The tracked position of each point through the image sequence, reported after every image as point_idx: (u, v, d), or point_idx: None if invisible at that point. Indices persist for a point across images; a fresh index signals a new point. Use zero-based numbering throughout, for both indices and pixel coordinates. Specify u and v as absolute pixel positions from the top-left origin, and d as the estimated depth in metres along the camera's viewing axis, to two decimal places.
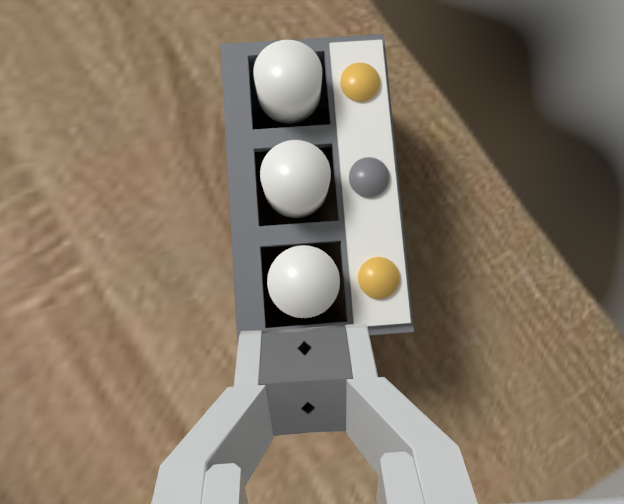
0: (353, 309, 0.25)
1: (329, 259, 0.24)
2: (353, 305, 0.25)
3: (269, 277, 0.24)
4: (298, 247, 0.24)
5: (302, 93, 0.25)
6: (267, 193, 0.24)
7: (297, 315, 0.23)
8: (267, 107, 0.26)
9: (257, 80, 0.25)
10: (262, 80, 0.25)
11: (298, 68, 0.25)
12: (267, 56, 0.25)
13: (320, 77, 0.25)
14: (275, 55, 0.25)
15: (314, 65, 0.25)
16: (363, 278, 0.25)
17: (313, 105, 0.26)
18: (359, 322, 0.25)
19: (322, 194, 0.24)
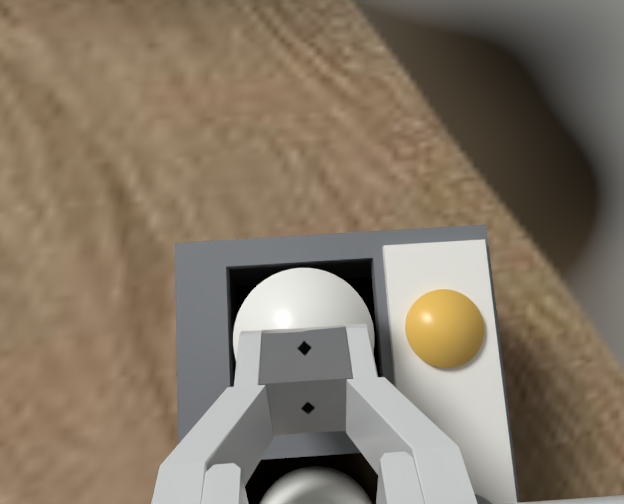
0: None
1: None
2: None
3: None
4: None
5: None
6: None
7: None
8: None
9: None
10: None
11: None
12: (262, 304, 0.12)
13: None
14: (279, 301, 0.12)
15: None
16: None
17: None
18: None
19: None
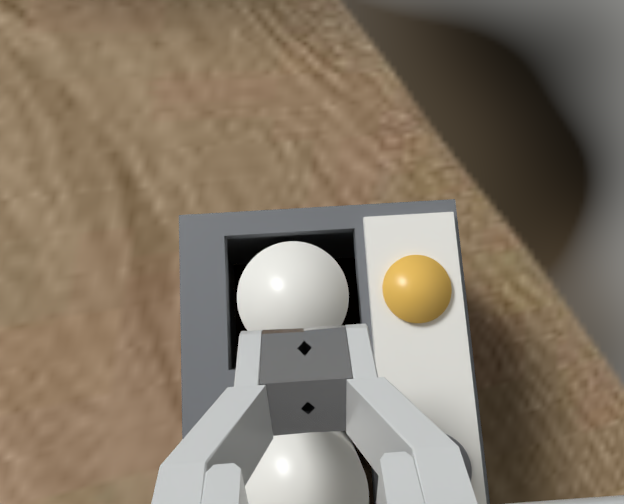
0: None
1: None
2: None
3: None
4: None
5: None
6: None
7: None
8: None
9: (242, 310, 0.15)
10: (251, 309, 0.15)
11: (310, 290, 0.15)
12: (260, 269, 0.15)
13: (345, 306, 0.15)
14: (273, 268, 0.15)
15: (336, 285, 0.15)
16: None
17: None
18: None
19: None
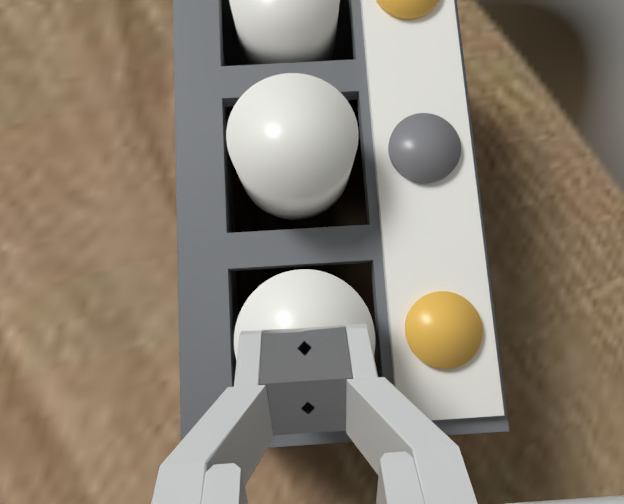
0: None
1: (355, 296, 0.12)
2: (397, 380, 0.14)
3: (238, 330, 0.12)
4: (295, 272, 0.12)
5: (307, 27, 0.15)
6: (238, 169, 0.13)
7: None
8: (252, 54, 0.16)
9: (234, 5, 0.15)
10: (243, 5, 0.15)
11: None
12: None
13: (337, 2, 0.15)
14: None
15: None
16: (416, 330, 0.14)
17: (325, 53, 0.17)
18: None
19: (342, 173, 0.13)
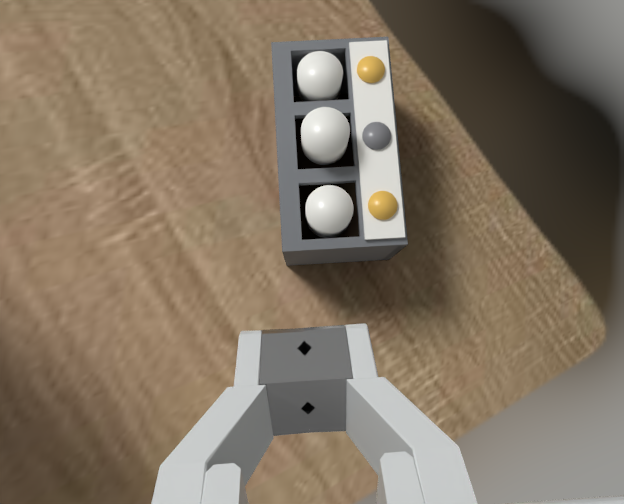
0: (364, 227, 0.36)
1: (346, 194, 0.36)
2: (364, 224, 0.36)
3: (306, 205, 0.36)
4: (326, 186, 0.36)
5: (329, 86, 0.37)
6: (305, 143, 0.35)
7: (325, 230, 0.35)
8: (305, 96, 0.38)
9: (299, 77, 0.37)
10: (303, 77, 0.37)
11: (327, 70, 0.37)
12: (306, 61, 0.37)
13: (341, 76, 0.37)
14: (312, 61, 0.38)
15: (337, 68, 0.37)
16: (372, 205, 0.36)
17: (336, 95, 0.39)
18: (368, 236, 0.35)
19: (344, 144, 0.35)
